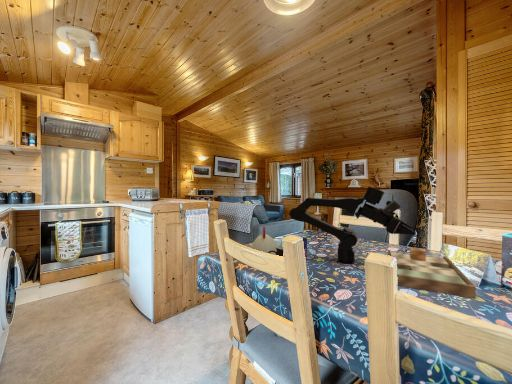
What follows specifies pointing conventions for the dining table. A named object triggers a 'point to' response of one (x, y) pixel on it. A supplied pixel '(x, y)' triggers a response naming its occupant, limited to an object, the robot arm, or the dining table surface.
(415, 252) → the block
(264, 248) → the beige cone with rod
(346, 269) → the dining table surface
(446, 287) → the wooden tray
